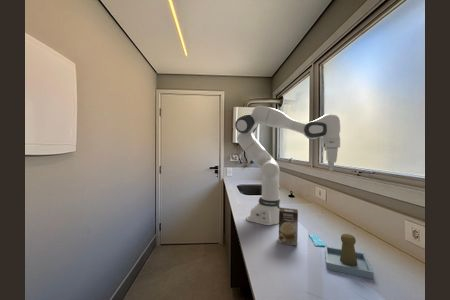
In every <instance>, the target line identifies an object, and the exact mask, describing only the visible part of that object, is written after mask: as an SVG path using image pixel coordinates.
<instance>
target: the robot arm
mask: <svg viewBox="0 0 450 300" xmlns="http://www.w3.org/2000/svg"><path fill="white" fill-rule="evenodd" d="M259 124H260V125H264V126H267V127H270V128H277V129H284V130H285V129H287V130H291V131H294V132H296V133H300V134H302V135H304V137H305V138H307V139H308V140H311V141H314V140H315V141H316V140H318V139H320V138H321V148H322V149H323V150H324V151H325V153H326V155H325V158H326V159H325V160H326V161H327V166H328V170H329V171H330V172H333V171H334V166H335V163H336V162H337V160H338V151H339V148H341V135H340V133H341V120H340V117H339V116H338V115H336V114H324V115H323V116H321V117H319V118H317V119H315V120H313V121H309V122H306V123H304V122H301V121H300V120H299V121H298V120H296V119H293V118H291V117H289V116H288V115H287V114H285V113H284V112H283V111H281V110H278V109H276V108H273V107H269V106H265V105H264V106H263V105H256V106H255V107H254V108H253V110H252V112H251V114H245V115H242V116H240V117H238V118H237V119H236V121H235V124H234V126H235V129H236V131H237V132H238V133H239V134H238V135H237V137H236V141H237V143H238V144H239V146H240V147H241V149H242V150H243V151H244V152H245V153H246V155H247V156H248V158H250V159H251V161H252V162H253V163H254V164H255V165H256V166H257V167H258V168H259V169H260V170H261V171H260V172H261V175H260V176H261V196H260V197H259V198H258V203H257V204H256V205H254V206H253V207H252V208H251V210H250V212H249V214H248V215H247V216H246V220H247V221H248V222H252V223H255V224H260V225H264V226H271V225H277V224H278V225H279V209H280V207H281V198H280V179H281V178H280V173H281V170H280V169H281V167H280V166H279V163H278V162H277V161H276V160H275V158H273V156H272V155H271V154H270V153H269V152H268V151H267V150H266V149H265V147H264V146H263V145H262V144H261V143H260V141H259V140H258V139H257V138H256V137H255V135H254V133H255V132H256V130H257V128H258V127H259Z"/></svg>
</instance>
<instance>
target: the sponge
mask: <svg viewBox="0 0 450 300" xmlns="http://www.w3.org/2000/svg"><path fill="white" fill-rule="evenodd" d="M308 237H309V239H310V240H311V241H312V244H313V245H314V246H315V247H318V248H319V247H321V248H325V246H328V245H327V244H326V243H325V242H324V240H323V239H322V238H320V236H318V235H317V234H308Z"/></svg>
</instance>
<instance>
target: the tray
mask: <svg viewBox="0 0 450 300" xmlns="http://www.w3.org/2000/svg"><path fill="white" fill-rule="evenodd" d="M355 253H356V259H357V265H356V266H348V265H345V264H343V263H342V262H341V261H340V256H341V248H337V247H334V246H333V247H332V246H328V245H327V246H325V247H324V257H325V258H324V259H325V268H326V270H331V271H334V272H340V273H344V274H348V275H353V276H357V277H361V278H365V279H371V280H374V271H373V268H372V267H371V265H370V263H369V260H368V258H367V256H366V253H365V252H360V251H355Z"/></svg>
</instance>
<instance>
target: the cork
mask: <svg viewBox="0 0 450 300" xmlns="http://www.w3.org/2000/svg"><path fill="white" fill-rule="evenodd" d="M340 240H341V248H340V249H341V256H340V261H341V262H342V263H343V264H345V265H348V266H356V265H357V259H356V253H355V252H356V248H355V245H356V244H357V243H356V242H357V241H356V237H355V236H354V235H352V234H349V233H343V234H341V236H340Z"/></svg>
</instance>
